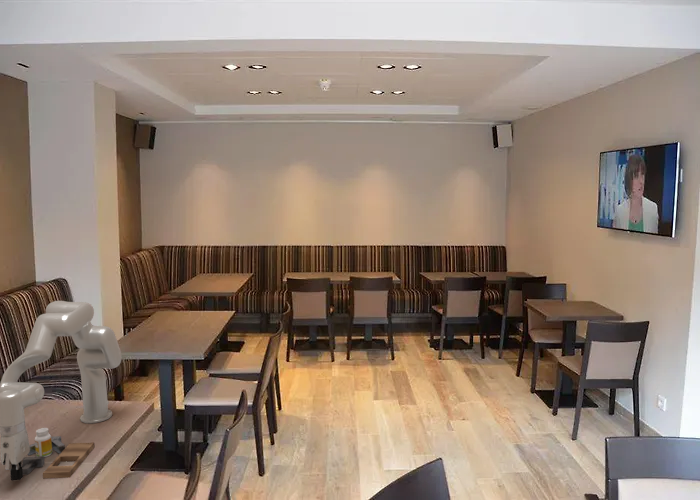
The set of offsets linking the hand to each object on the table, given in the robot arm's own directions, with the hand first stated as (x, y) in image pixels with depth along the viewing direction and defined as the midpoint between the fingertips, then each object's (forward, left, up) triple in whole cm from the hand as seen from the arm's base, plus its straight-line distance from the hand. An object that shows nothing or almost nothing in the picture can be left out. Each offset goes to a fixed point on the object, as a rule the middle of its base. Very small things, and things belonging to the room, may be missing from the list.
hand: (17, 479), depth 195 cm
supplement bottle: (-20, 0, -2) cm, 20 cm away
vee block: (-24, 0, -1) cm, 24 cm away
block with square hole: (-13, +12, -1) cm, 18 cm away
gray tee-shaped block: (-9, 0, -1) cm, 9 cm away
